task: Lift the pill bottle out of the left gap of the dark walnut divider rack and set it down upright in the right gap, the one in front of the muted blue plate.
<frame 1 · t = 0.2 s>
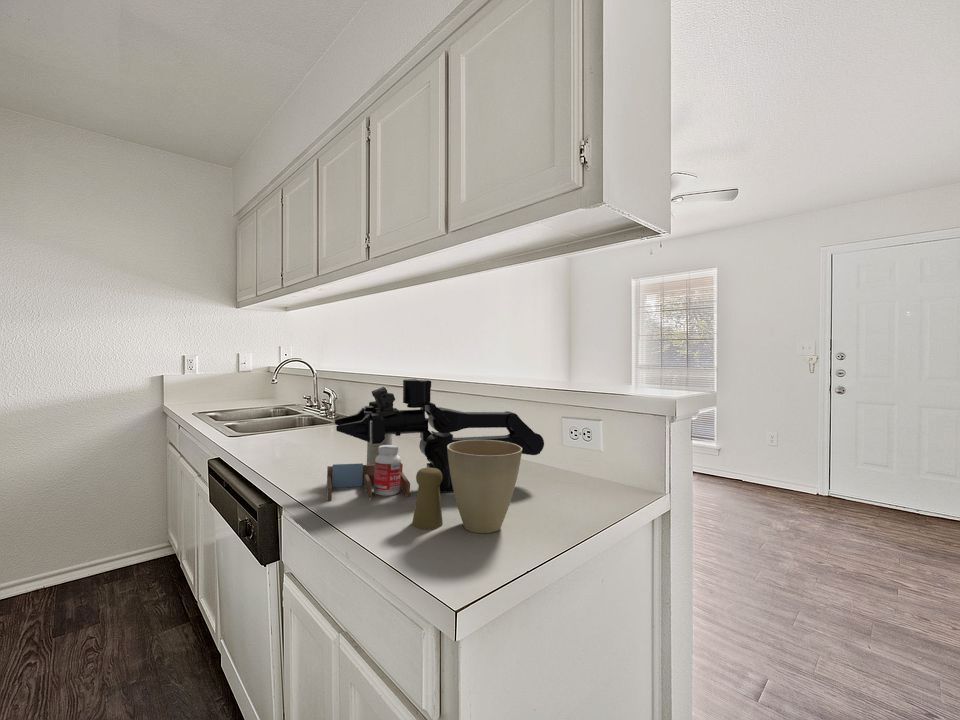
hand: (335, 425, 107), 16 cm above the counter, tool horizontal, fingers open, 9 cm apart
spray can: (378, 475, 126), on the counter
divider rack: (367, 491, 111), on the counter
plant pot: (481, 527, 91), on the counter
olive green peg figure: (427, 524, 92), on the counter
pill bottle: (386, 493, 111), on the counter
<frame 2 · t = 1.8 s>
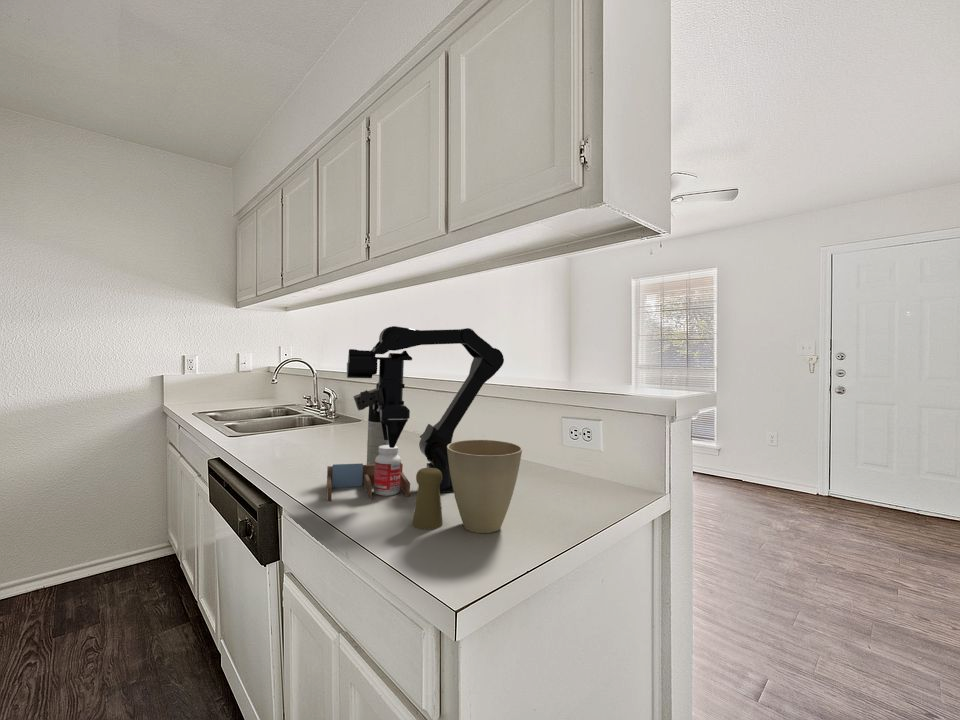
hand: (388, 443, 111), 12 cm above the counter, tool pointing down, fingers open, 9 cm apart
nothing on the counter moved.
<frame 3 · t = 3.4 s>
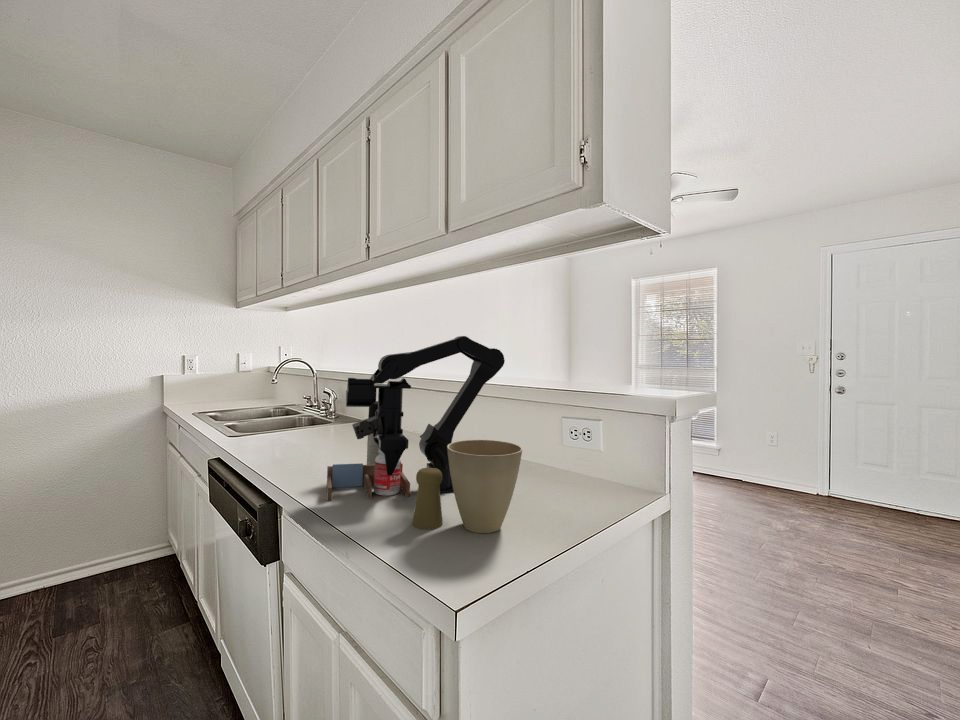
hand: (387, 471, 111), 5 cm above the counter, tool pointing down, fingers closed on pill bottle, 6 cm apart
pill bottle: (386, 493, 111), on the counter, touching gripper
everything else where it was.
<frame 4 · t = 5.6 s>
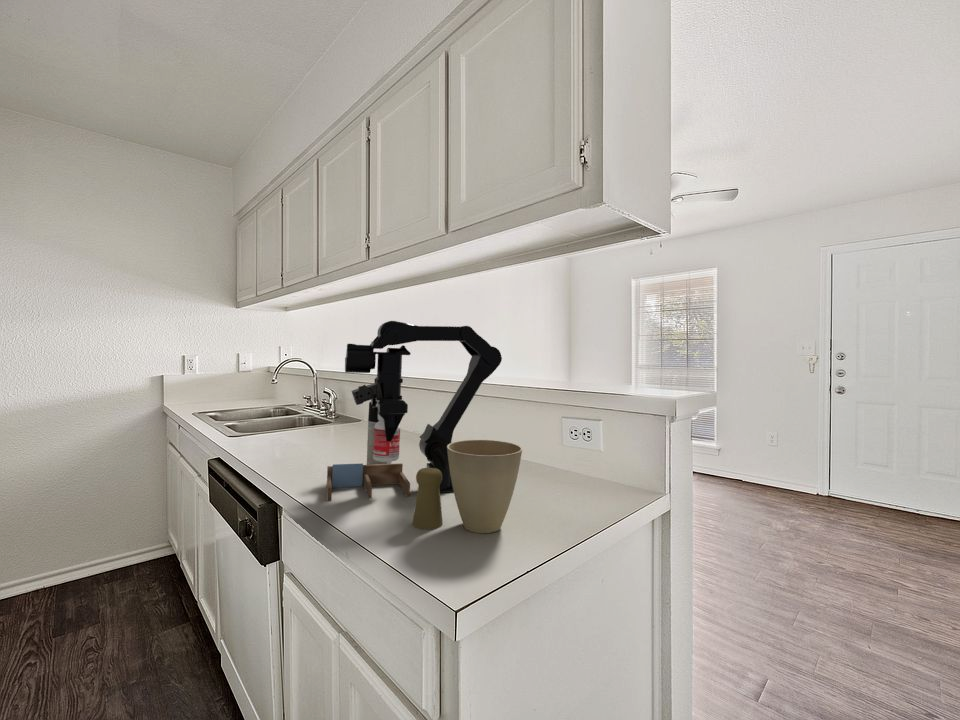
hand: (386, 438, 111), 13 cm above the counter, tool pointing down, fingers closed on pill bottle, 6 cm apart
pill bottle: (386, 460, 111), point 8 cm above the counter, touching gripper
everything else where it was.
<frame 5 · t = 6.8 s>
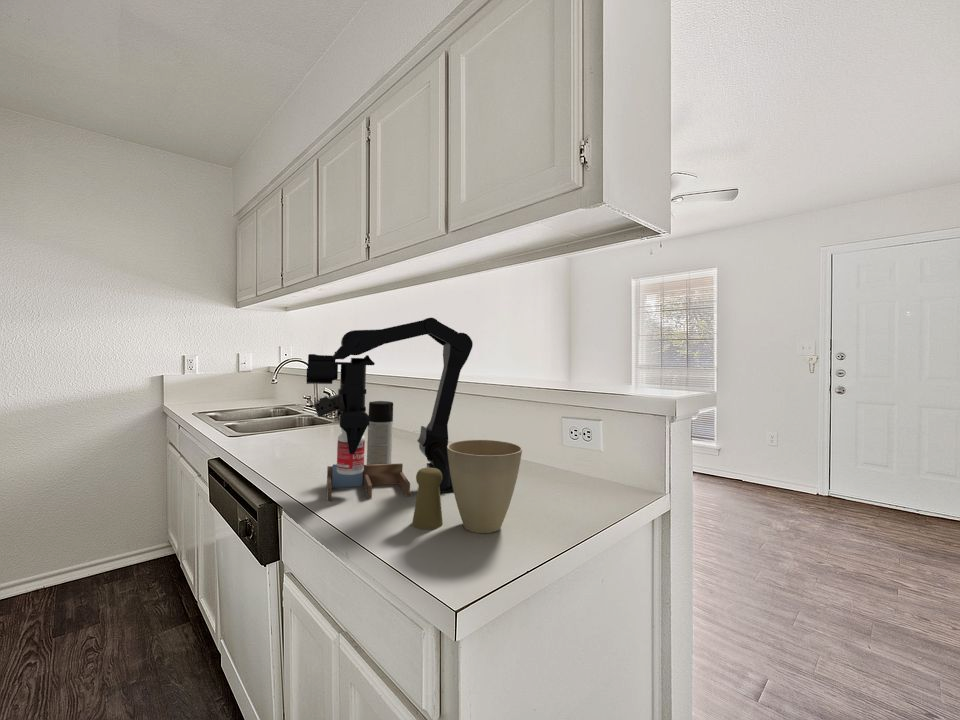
hand: (351, 450, 108), 10 cm above the counter, tool pointing down, fingers closed on pill bottle, 6 cm apart
pill bottle: (350, 472, 108), point 5 cm above the counter, touching gripper
everything else where it was.
when the fingers open (6 cm above the counter, at t = 7.9 s): pill bottle drops 1 cm, on the counter.
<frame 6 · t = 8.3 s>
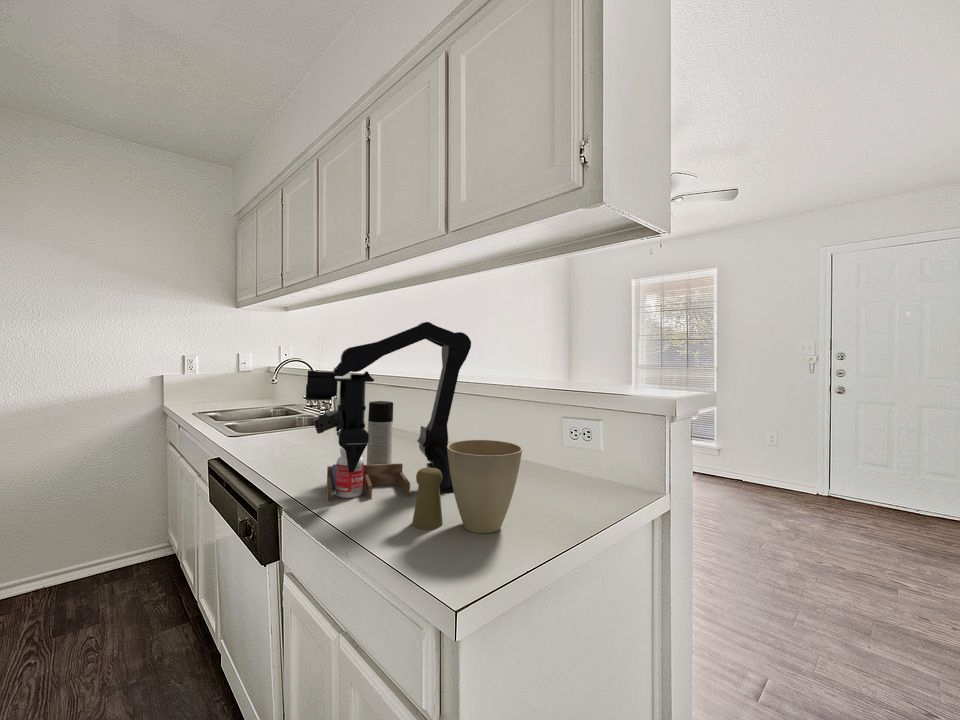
hand: (350, 467, 108), 6 cm above the counter, tool pointing down, fingers open, 9 cm apart
pill bottle: (349, 495, 108), on the counter
everything else where it was.
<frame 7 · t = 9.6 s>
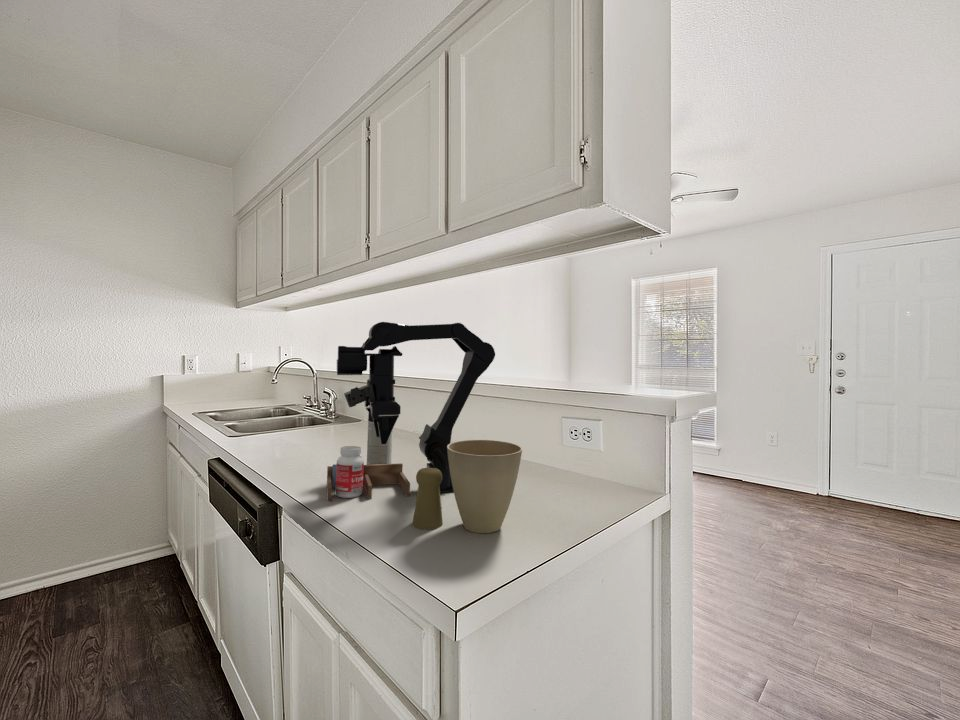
hand: (381, 440, 110), 13 cm above the counter, tool pointing down, fingers open, 9 cm apart
nothing on the counter moved.
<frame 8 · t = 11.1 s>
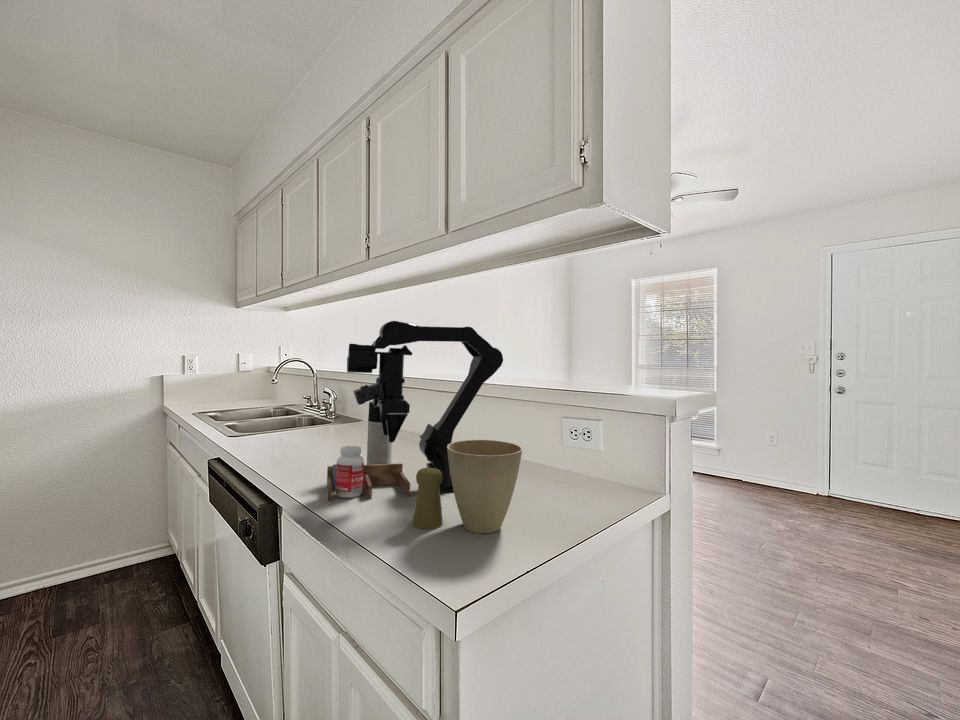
hand: (388, 438, 111), 13 cm above the counter, tool pointing down, fingers open, 9 cm apart
nothing on the counter moved.
at the end: pill bottle 0.1 cm from the target spot on the divider rack, point 0.0 cm above the divider rack's base; pill bottle tilted 0°; the gripper is holding nothing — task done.
